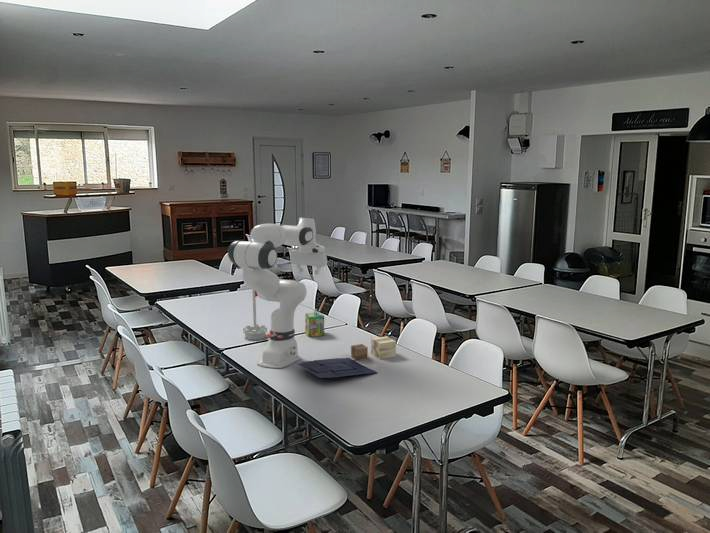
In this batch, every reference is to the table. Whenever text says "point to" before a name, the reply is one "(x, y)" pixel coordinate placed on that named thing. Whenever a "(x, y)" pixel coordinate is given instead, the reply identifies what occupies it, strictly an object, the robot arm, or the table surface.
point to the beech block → (383, 347)
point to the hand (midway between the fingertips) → (308, 273)
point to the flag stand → (255, 330)
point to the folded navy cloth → (335, 367)
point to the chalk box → (314, 324)
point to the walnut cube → (359, 352)
